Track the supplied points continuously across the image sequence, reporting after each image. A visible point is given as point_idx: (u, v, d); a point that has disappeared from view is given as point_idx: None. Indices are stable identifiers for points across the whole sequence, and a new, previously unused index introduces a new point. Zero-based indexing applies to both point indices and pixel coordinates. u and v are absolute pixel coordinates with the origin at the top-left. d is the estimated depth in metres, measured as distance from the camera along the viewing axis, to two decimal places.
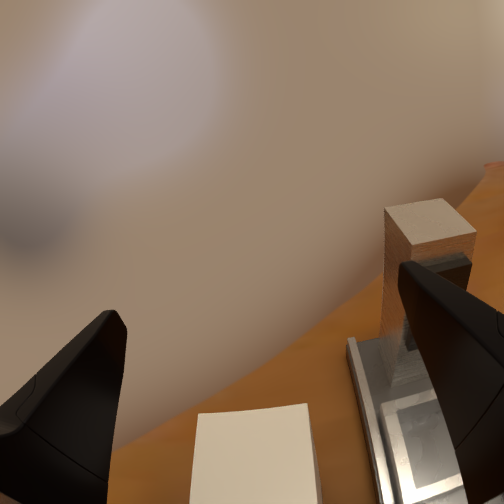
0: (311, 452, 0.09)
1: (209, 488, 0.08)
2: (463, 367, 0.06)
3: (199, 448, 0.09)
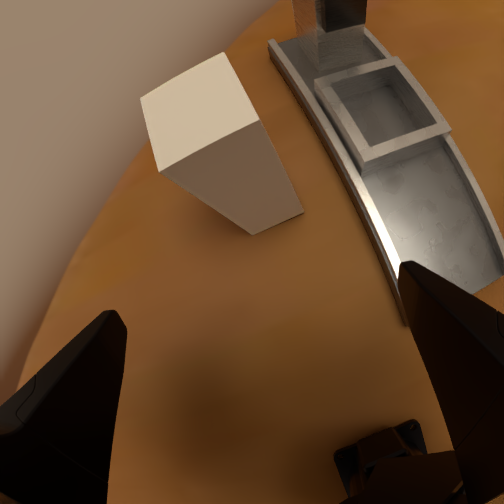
0: (238, 81, 0.11)
1: (167, 143, 0.11)
2: (463, 367, 0.06)
3: (149, 120, 0.12)
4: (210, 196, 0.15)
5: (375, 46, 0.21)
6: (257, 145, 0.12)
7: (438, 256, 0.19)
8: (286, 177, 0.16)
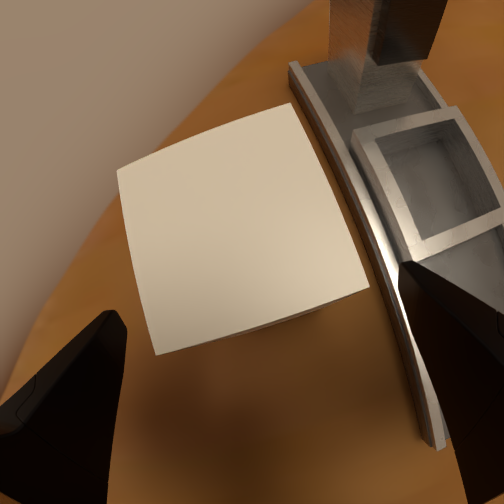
0: (326, 182, 0.06)
1: (172, 297, 0.06)
2: (463, 367, 0.06)
3: (132, 227, 0.06)
4: None
5: (424, 85, 0.17)
6: (333, 301, 0.07)
7: None
8: None
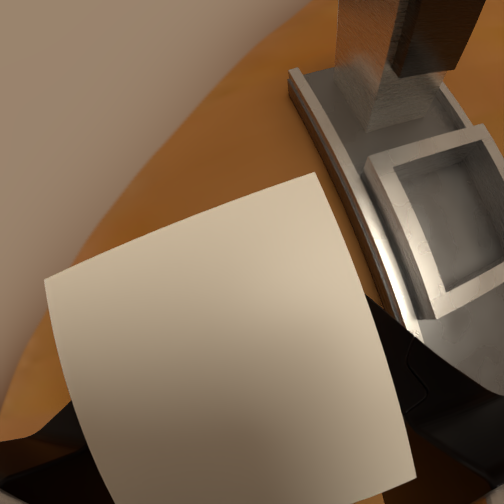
0: (374, 333, 0.03)
1: (140, 482, 0.03)
2: None
3: (73, 378, 0.04)
4: None
5: (444, 96, 0.14)
6: None
7: None
8: None
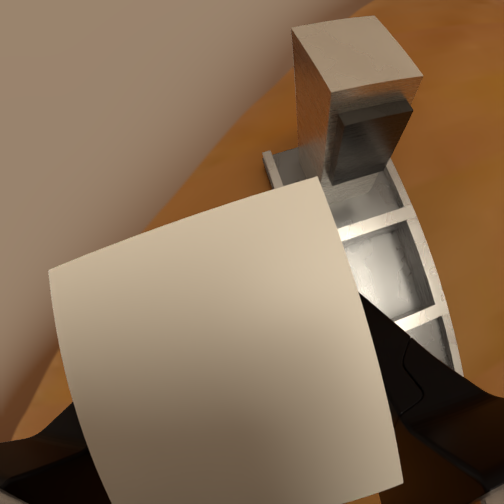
0: (368, 338, 0.03)
1: (132, 472, 0.03)
2: None
3: (72, 368, 0.04)
4: None
5: (389, 174, 0.21)
6: None
7: None
8: None
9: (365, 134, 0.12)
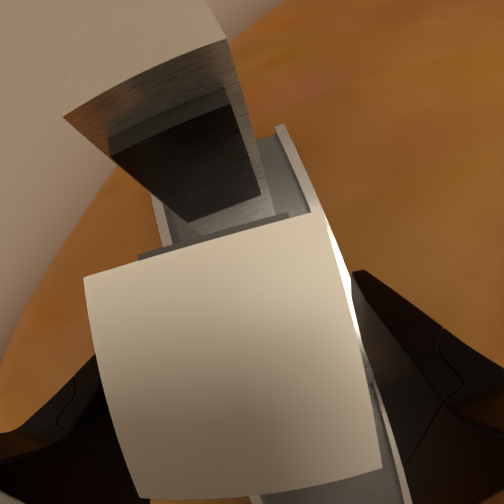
0: (355, 345, 0.04)
1: (155, 453, 0.04)
2: (403, 386, 0.06)
3: (105, 362, 0.05)
4: None
5: (302, 190, 0.17)
6: None
7: (319, 499, 0.14)
8: None
9: (167, 158, 0.08)
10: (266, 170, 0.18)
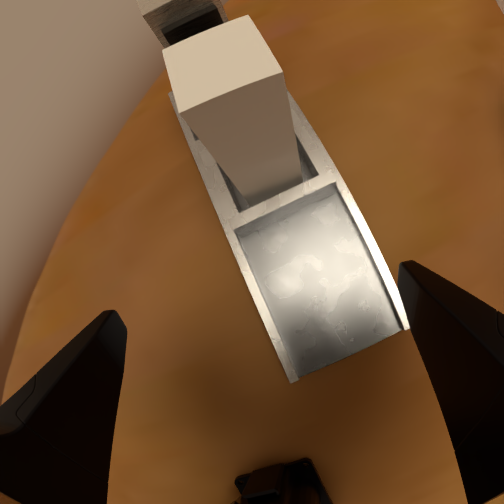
0: (262, 39, 0.10)
1: (189, 88, 0.11)
2: (463, 367, 0.06)
3: (171, 68, 0.11)
4: (221, 151, 0.14)
5: None
6: (275, 99, 0.12)
7: (320, 314, 0.21)
8: (294, 141, 0.15)
9: None
10: None
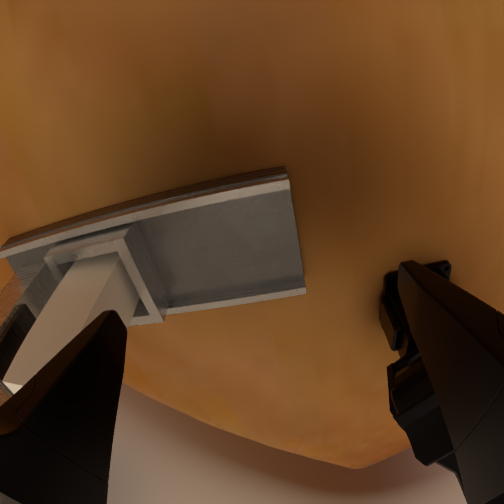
0: None
1: None
2: (463, 367, 0.06)
3: None
4: None
5: None
6: None
7: (250, 255, 0.22)
8: (91, 311, 0.16)
9: None
10: (24, 262, 0.23)
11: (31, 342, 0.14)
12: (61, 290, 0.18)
